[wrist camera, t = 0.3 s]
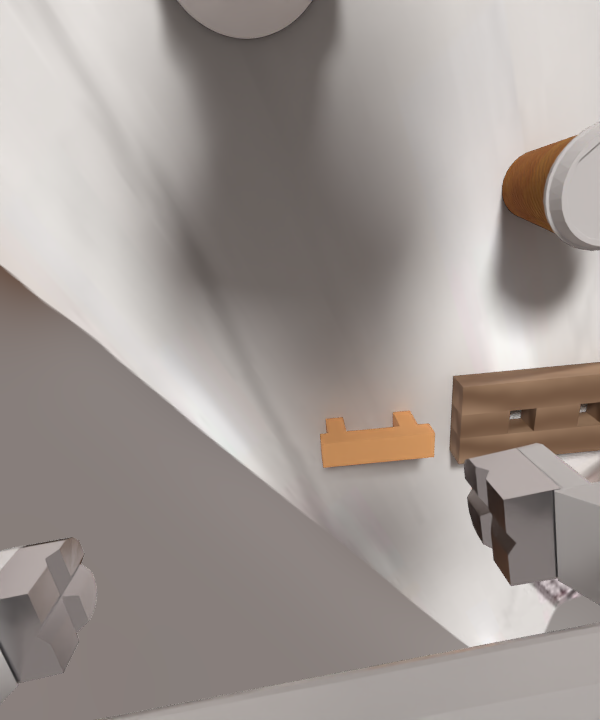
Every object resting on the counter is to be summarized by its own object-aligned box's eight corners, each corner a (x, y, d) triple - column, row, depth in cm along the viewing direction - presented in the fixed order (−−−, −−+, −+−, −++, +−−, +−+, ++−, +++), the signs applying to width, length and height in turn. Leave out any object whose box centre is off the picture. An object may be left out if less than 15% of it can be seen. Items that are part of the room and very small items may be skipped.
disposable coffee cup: (581, 118, 42) (689, 98, 31) (582, 221, 46) (679, 235, 35) (481, 145, 43) (552, 135, 32) (489, 245, 46) (556, 266, 35)
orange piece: (317, 415, 53) (321, 444, 47) (418, 406, 53) (434, 433, 48) (318, 437, 54) (323, 467, 49) (417, 428, 54) (433, 456, 49)
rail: (453, 376, 52) (463, 387, 49) (641, 358, 52) (662, 368, 49) (449, 449, 56) (458, 464, 53) (625, 432, 56) (643, 445, 53)
